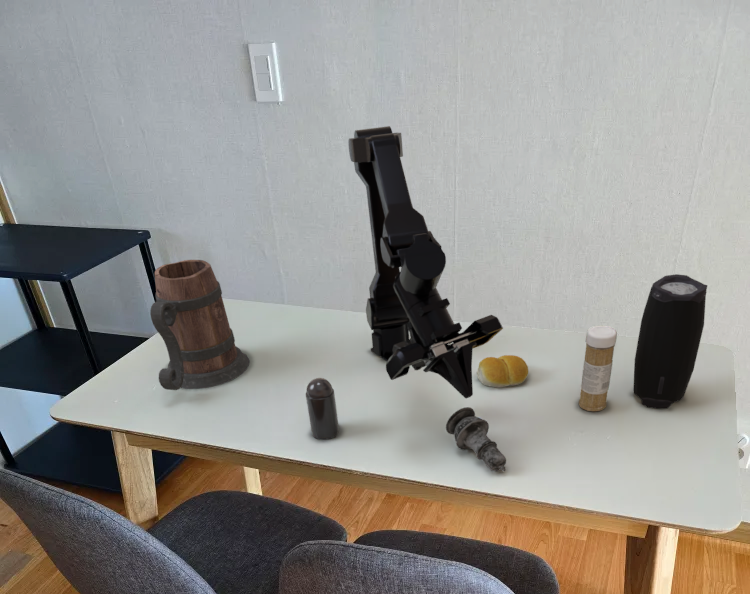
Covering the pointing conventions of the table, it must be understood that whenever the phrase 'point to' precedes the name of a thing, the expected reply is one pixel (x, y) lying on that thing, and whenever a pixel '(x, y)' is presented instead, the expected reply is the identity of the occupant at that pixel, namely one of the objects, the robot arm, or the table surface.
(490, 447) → the grey turned piece
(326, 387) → the pepper pot
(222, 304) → the tankard
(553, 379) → the table surface
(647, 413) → the table surface
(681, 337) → the portable speaker
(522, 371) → the bread roll
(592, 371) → the sprinkles bottle
